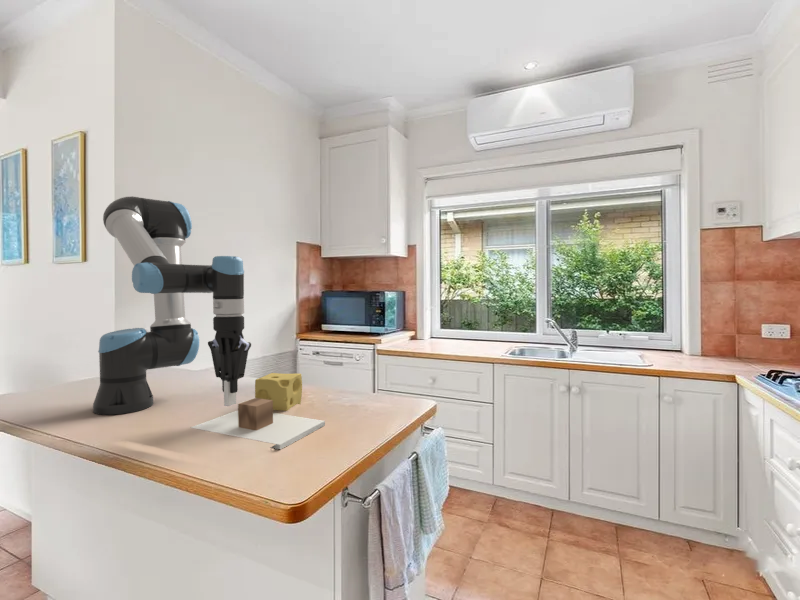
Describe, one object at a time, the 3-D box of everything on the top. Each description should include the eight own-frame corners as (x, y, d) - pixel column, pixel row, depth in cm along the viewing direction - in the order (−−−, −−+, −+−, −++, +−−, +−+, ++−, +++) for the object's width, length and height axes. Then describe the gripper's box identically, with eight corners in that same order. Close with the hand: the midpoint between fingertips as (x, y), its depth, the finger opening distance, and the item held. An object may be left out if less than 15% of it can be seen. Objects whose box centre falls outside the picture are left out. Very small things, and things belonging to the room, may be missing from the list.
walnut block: (237, 403, 105) (256, 406, 102) (254, 397, 110) (272, 400, 108) (237, 427, 105) (256, 430, 103) (254, 420, 110) (272, 423, 108)
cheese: (287, 415, 119) (286, 380, 118) (252, 412, 121) (252, 378, 120) (302, 405, 129) (302, 373, 128) (270, 403, 131) (270, 371, 131)
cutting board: (190, 432, 105) (190, 427, 105) (243, 412, 121) (243, 408, 121) (280, 450, 94) (280, 444, 94) (324, 425, 110) (324, 420, 110)
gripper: (198, 315, 108) (200, 405, 109) (237, 316, 103) (238, 411, 104) (221, 314, 115) (222, 398, 116) (258, 315, 110) (259, 403, 110)
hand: (230, 404), depth 110 cm, fingers closed
